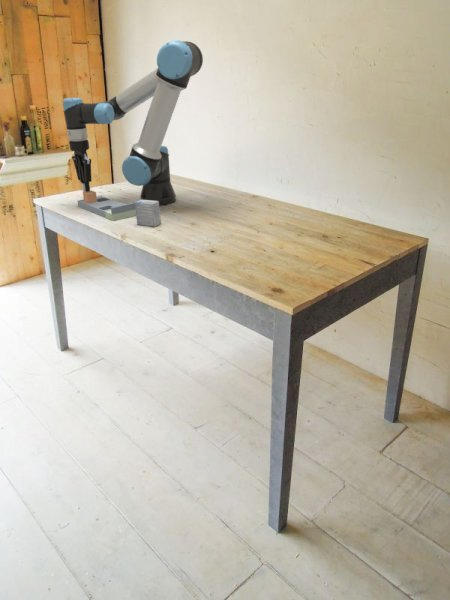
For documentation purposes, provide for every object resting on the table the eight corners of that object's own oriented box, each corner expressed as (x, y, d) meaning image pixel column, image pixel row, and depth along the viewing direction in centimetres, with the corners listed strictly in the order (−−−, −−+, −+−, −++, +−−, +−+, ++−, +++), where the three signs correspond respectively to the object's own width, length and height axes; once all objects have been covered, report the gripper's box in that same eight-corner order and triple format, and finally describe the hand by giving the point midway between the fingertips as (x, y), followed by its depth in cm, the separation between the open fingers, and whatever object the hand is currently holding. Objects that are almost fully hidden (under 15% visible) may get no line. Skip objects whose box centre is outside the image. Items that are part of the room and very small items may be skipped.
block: (84, 201, 209) (82, 192, 207) (92, 199, 211) (91, 190, 209) (88, 203, 206) (87, 194, 204) (97, 201, 208) (95, 192, 206)
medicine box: (161, 223, 186) (159, 200, 182) (155, 227, 183) (152, 203, 179) (143, 221, 189) (141, 199, 186) (136, 225, 186) (134, 202, 182)
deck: (78, 206, 212) (76, 194, 210) (101, 201, 218) (100, 190, 216) (113, 221, 191) (112, 208, 189) (138, 215, 197) (137, 202, 195)
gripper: (62, 139, 202) (72, 197, 212) (76, 142, 193) (86, 202, 203) (79, 137, 206) (88, 194, 216) (94, 140, 197) (103, 199, 207)
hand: (87, 198), depth 210 cm, fingers closed
